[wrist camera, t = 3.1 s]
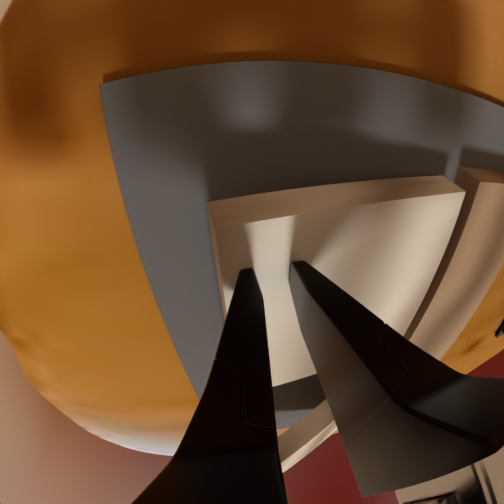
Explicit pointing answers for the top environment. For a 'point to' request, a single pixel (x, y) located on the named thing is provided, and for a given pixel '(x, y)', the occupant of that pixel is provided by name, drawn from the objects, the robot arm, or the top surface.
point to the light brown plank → (463, 263)
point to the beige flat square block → (306, 435)
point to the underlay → (268, 166)
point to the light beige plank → (335, 250)
